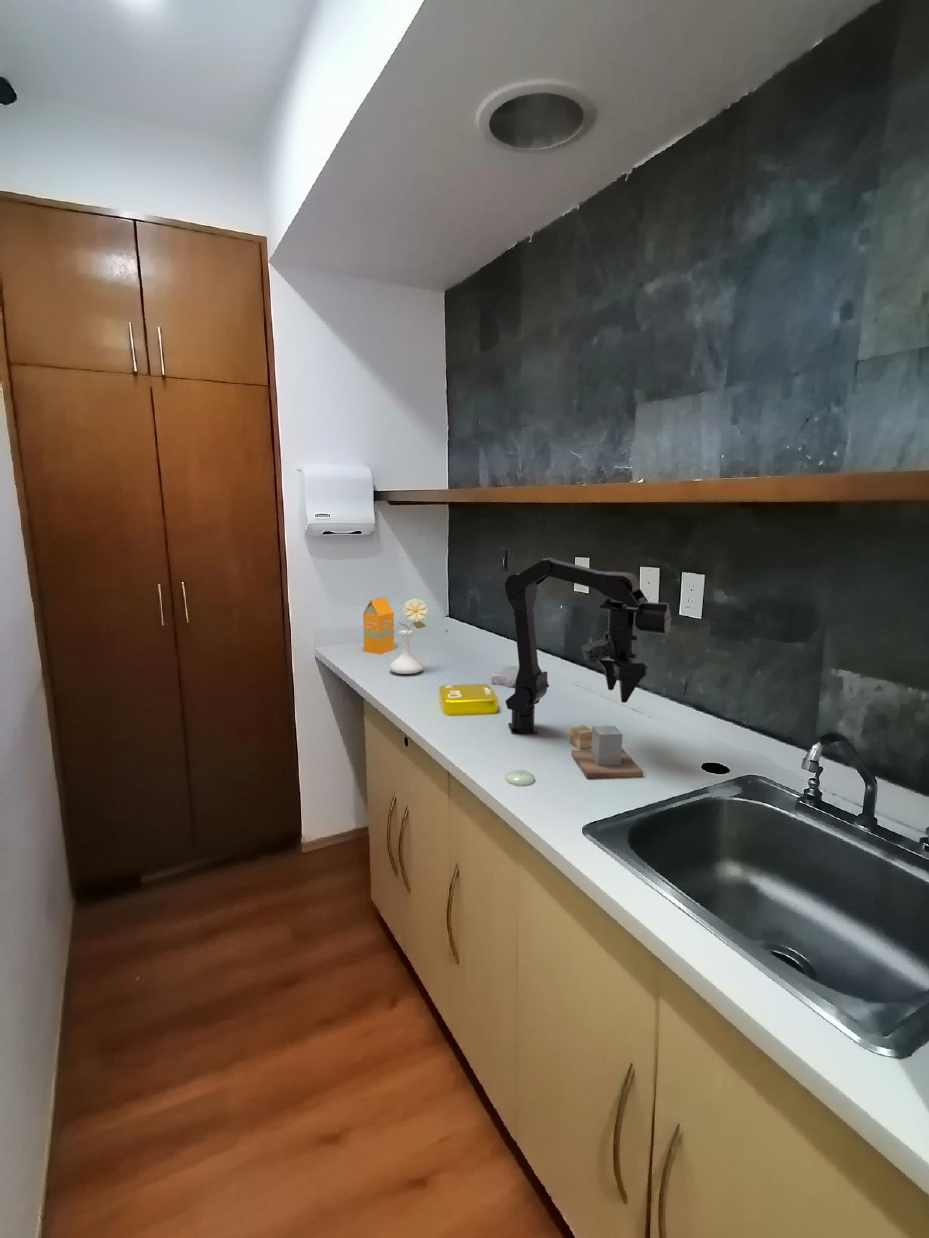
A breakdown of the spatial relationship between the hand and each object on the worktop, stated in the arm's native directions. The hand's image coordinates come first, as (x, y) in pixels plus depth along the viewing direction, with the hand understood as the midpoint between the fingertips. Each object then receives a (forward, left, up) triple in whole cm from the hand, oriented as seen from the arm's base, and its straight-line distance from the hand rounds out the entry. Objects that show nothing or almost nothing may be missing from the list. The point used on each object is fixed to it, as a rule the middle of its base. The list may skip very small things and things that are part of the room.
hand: (617, 695), depth 143 cm
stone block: (-55, -14, -14) cm, 59 cm away
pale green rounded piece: (+14, -25, -13) cm, 31 cm away
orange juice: (-100, -58, -13) cm, 116 cm away
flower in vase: (-69, -47, -13) cm, 85 cm away
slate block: (+9, -5, -12) cm, 16 cm away
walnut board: (+9, -5, -13) cm, 16 cm away
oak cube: (-3, -7, -13) cm, 15 cm away
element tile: (-34, -31, -14) cm, 48 cm away
